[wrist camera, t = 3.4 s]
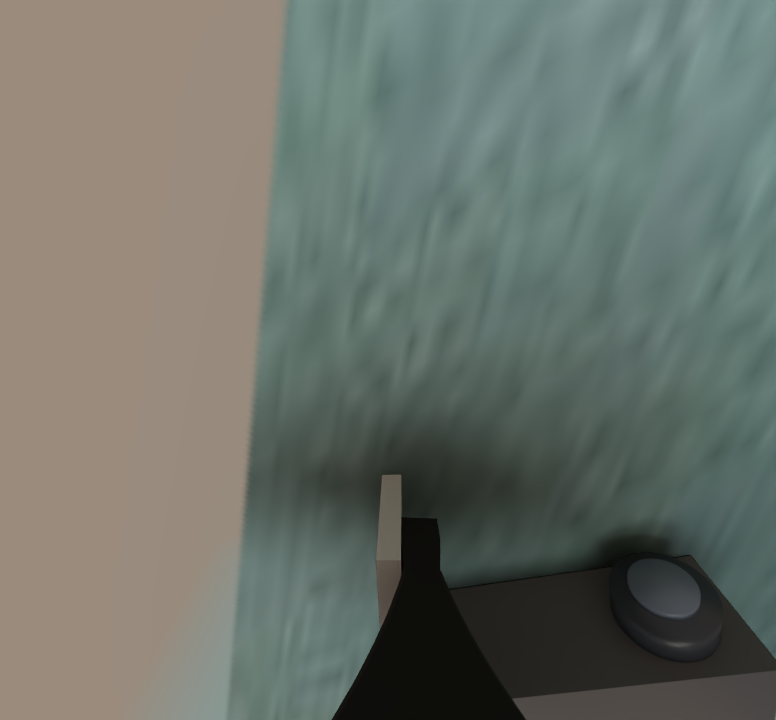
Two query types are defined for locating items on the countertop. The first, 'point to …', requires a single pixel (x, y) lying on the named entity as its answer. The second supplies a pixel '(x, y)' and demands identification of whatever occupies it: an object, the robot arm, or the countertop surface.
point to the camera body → (622, 644)
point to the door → (389, 542)
